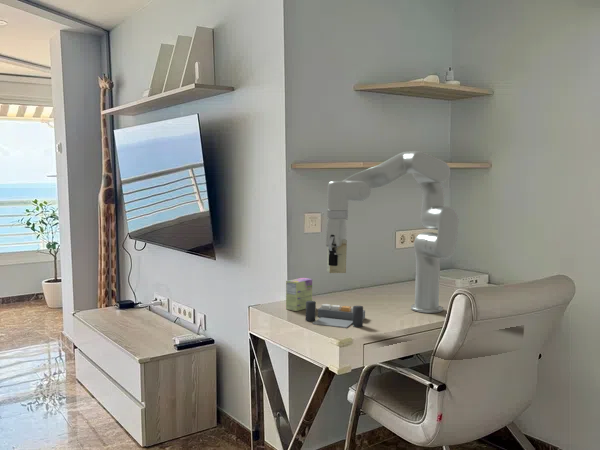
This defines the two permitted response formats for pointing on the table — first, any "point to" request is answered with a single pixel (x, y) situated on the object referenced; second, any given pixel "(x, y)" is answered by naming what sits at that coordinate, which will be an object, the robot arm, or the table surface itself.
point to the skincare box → (341, 259)
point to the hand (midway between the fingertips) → (336, 263)
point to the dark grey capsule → (357, 316)
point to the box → (298, 293)
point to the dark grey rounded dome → (310, 310)
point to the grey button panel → (335, 316)
